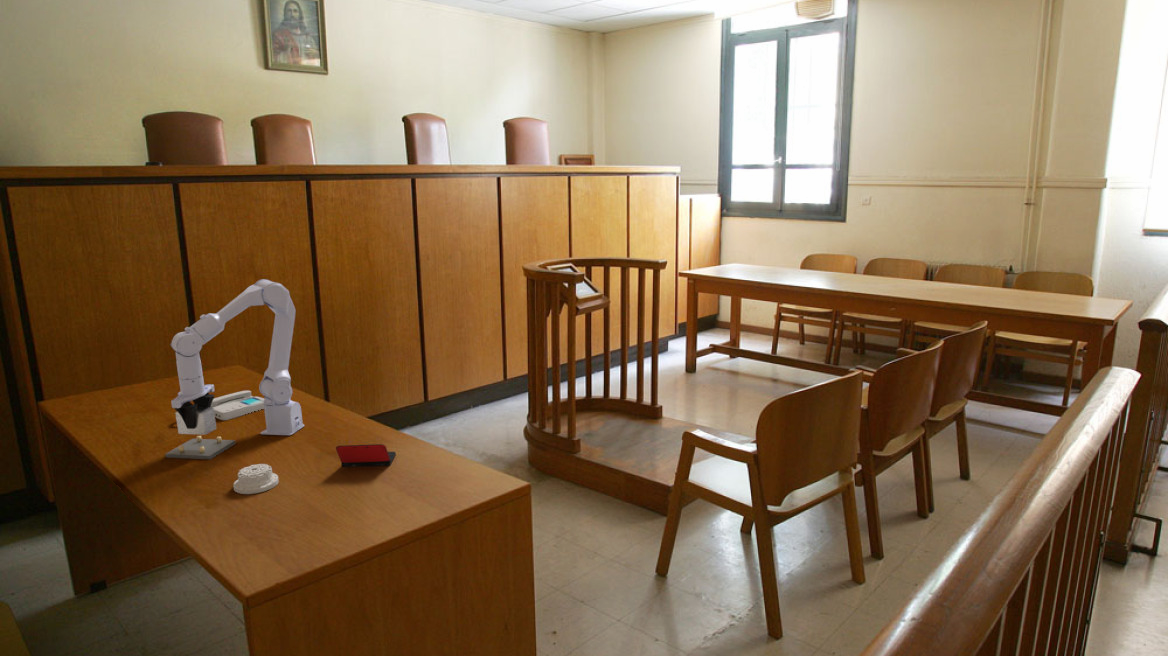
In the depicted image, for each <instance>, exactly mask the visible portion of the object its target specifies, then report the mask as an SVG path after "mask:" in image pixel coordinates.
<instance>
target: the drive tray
mask: <svg viewBox="0 0 1168 656" xmlns="http://www.w3.org/2000/svg"><path fill="white" fill-rule="evenodd" d="M235 445H236V440H235V439H222V437H221V436H217V437H216V438H213V439H211V438H202V435H197V436H196V438H191V439H189V440H187V441H186V442H184V443H182V444H180V445H179V446H177V447H175V448H173V449H171V450H169V451H168V452H166V453H164V454H165V458H169V459H174V458H175V459H196V460H212V459H213V458H215V457H217V456H219V455H220V454H221V453H223V452H225V451H226V450H228V449H229V447H230V448H232V446H235ZM224 450H225V451H224ZM219 453H220V454H219ZM216 455H217V456H216Z"/></svg>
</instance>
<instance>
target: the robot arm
mask: <svg viewBox="0 0 1168 656" xmlns="http://www.w3.org/2000/svg"><path fill="white" fill-rule="evenodd" d="M265 305H266V306H267V307H268V308H269V309H270V310H271V311H272V312H273V313H274V314H275V316H274V323H273V330H272V337H271V344H270V351H269V360H268V367H267V368H266V370H265V371H264V372H263V373H264V375H263V378H262V380H261V381H260V383H259V386H258V388H259V393H260V394H261V395H263V396H264V397H263V398H264V401H263V402H264V409H263V410H264V416H265V426H266V429H264V430H262V431H261V432H260V434H261V435H267V436H268V435H270V436H274V435H275V436H292V435H293V434H295V433H297V432H298V431H299V430H301V429H302V428H303V427H305V424H304V423H303V415H302V413H303V412H302V407H301V404H300V403H299V402H298V401H293V400H292V399H291V398H292V396H293V387H292V386H291V381H292V378H291V375H290V373H289V365H290V359H291V349H292V343H293V342H292V341H293V335H294V329H295V328H294V327H295V320H296V308H295V305H294V303H293V300H292V298H291V295H290V290H289V289H287V288H286V287H285V286H284V285H283V284H282V283H280V282H275V281H272V280H269V279H267V278H266V279H262V278H261V279H259V280H257V281H256V282H255V283H254V284H251V285H250V286H248V287H246V289H245V290H244V291H242V292H241V293H240V294H239V295H237V296H236V297H235V298H234V299H232V300H231V301H229V303H227V304H226V305H225V306H224V307H223V308H221V309H220V310H219V311H217V312H216V313H210V312H209V313H207V314H201V315H200V316H199V318H200V319H199V320H197V321H196V322H194V323H193V324H192V325H191V326H189V327H188V326H186V327H185V328H184V331H181V332H177V333H176V334H175V335H174V336H173V338H172V339H171V343H170V346H171V348H172V349H173V350H174V352H175V358H176V361H175V362H176V369H177V375H178V377H177V378H178V382H179V388H180V389H179V390H180V391H179V392H177V396H176V397H175V398H174V399H171V401H170V402H171V408H172V409H174V410H176V412H178V413H179V414H180V415H181V417H182V419H183V421H184V423H185V425H186V427H187V429H194V428H196V418H195V416H196V408H197V407H204V408H210V407H211V404H212V401H213V399H214V398H215V395H214V394H213V393H214V392H215V385H214V384H211V383H210V384H205V381H204V376H203V367H202V362H201V361H202V360H201V356H200V351H201V350H202V348H203V345H206V344H207V343H208V342H209V341H211V340H212V339H213V338H215V337H216V336H217V335H219V334H220V333H221V332H223V331H224V330H225V325H226V323H227V322H228V321H230V320H232V319H233V318H235V317H236V316H237V315H239V314H241V313H242V312H243V311H245V310H247V309H248V308H250V307H252V306H253V307H254V306H265ZM210 393H212V394H210ZM192 402H193V403H192Z"/></svg>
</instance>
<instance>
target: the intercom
mask: <svg viewBox="0 0 1168 656" xmlns="http://www.w3.org/2000/svg"><path fill="white" fill-rule="evenodd" d="M264 398H265V397H262V396H261V397H260V396H253V395H252V391H251V390H241V391H237V392H233V393H232V392H231V393H229V394H225V395H222V396H221V395H220V396H218V397H214V399H213V401H212V404H211V407H210V408H214V414H215V417H216V418H215V419H218V420H221V421H227V420H228V421H229V420H231V419H232V420H233V419H235V418H239V417H243V416H246V415H249V414H252V413H255V412H254V411H256V412H259V411H262V410H261V409H263V410H264V402H263V401H264ZM258 410H259V411H258ZM251 412H252V413H251ZM248 413H249V414H248ZM245 414H246V415H245Z"/></svg>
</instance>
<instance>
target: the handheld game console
mask: <svg viewBox="0 0 1168 656" xmlns="http://www.w3.org/2000/svg"><path fill="white" fill-rule="evenodd" d="M335 450H336V453H337V456H338V458H339V461H340V462H341V468H355V467H356V468H357V467H359V468H360V467H387V466H388V467H389V466H391V465H392V462H393V461H394V459H395V458H396V455H397V454H396V451H388V449H387V446H386V445H385V444H383V443H380V444H379V443H378V444H355V445H353V444H352V445H351V444H350V445H349V444H348V445H337V446H336V447H335Z"/></svg>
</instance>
